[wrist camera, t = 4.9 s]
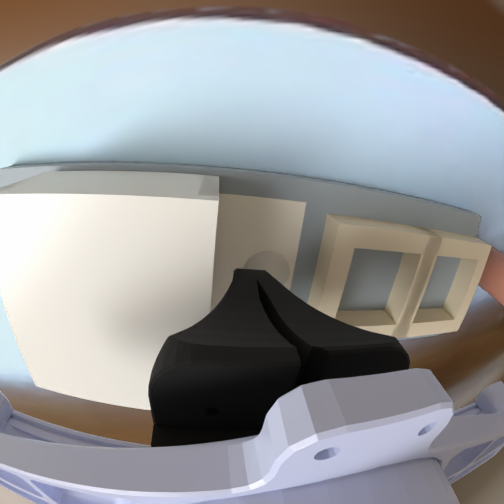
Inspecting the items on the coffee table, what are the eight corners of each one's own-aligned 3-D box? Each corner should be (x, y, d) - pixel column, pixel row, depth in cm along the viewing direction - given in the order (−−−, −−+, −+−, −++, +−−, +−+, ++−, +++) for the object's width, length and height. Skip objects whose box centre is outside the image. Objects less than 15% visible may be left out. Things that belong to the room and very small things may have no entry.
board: (470, 211, 15) (498, 224, 13) (430, 326, 19) (449, 347, 16) (10, 165, 11) (-20, 175, 9) (30, 307, 15) (11, 331, 12)
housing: (219, 175, 12) (219, 200, 7) (206, 345, 15) (206, 414, 11) (47, 171, 10) (-17, 194, 6) (68, 328, 14) (35, 385, 9)
